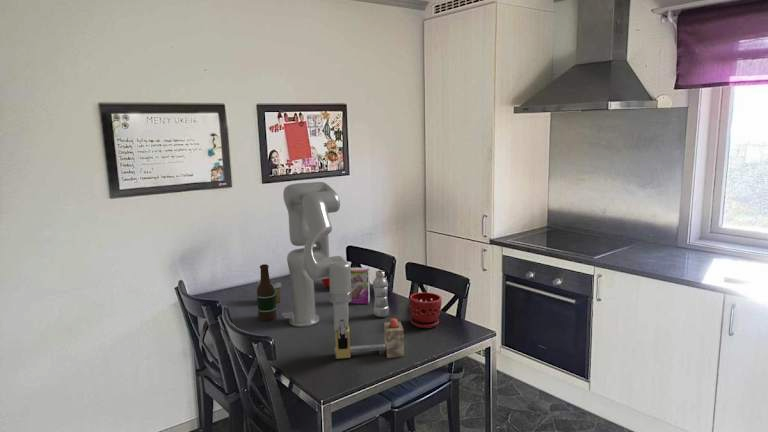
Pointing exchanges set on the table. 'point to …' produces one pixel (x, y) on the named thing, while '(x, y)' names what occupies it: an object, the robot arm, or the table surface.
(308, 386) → the table surface
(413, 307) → the plant pot
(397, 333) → the beige mottled box
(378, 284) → the plastic bottle
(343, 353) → the yellow block
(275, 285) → the food container
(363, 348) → the rail
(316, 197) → the robot arm
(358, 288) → the candy bar box
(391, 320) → the button
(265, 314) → the beer bottle
